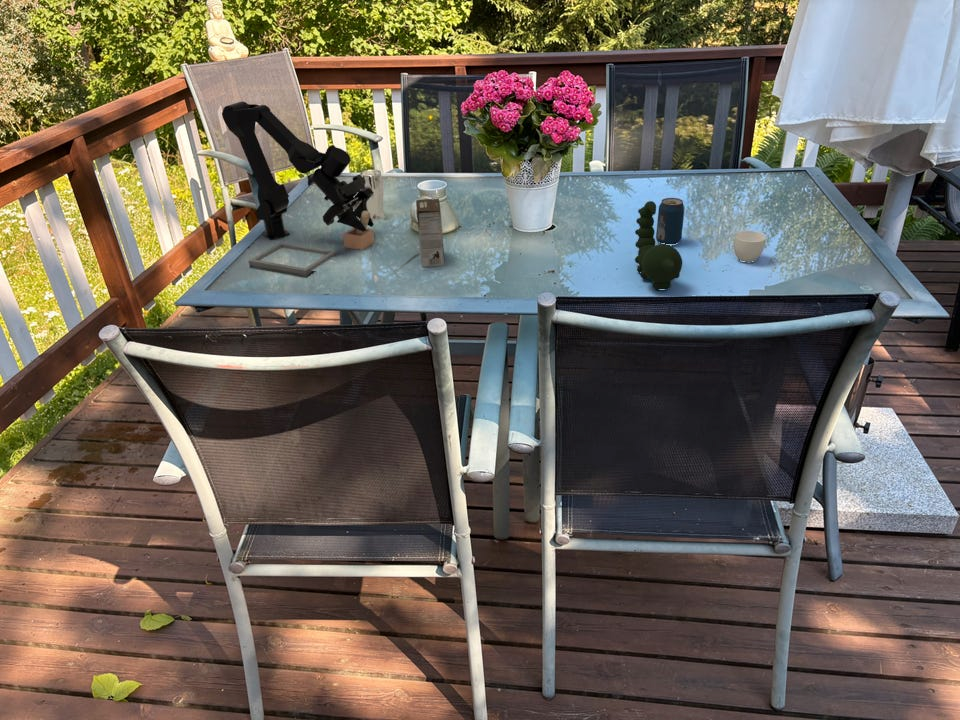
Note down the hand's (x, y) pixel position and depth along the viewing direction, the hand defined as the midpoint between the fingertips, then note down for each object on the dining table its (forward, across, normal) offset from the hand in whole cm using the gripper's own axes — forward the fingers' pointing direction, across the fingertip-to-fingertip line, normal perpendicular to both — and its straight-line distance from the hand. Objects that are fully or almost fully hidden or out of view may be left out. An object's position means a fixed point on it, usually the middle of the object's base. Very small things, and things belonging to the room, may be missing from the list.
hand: (368, 228), depth 200 cm
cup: (+75, +29, -66) cm, 104 cm away
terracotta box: (+2, 0, +8) cm, 8 cm away
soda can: (+60, +33, -50) cm, 85 cm away
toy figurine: (+61, +9, -52) cm, 81 cm away
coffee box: (+19, 0, -10) cm, 22 cm away
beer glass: (-4, +22, +14) cm, 27 cm away
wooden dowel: (+2, 0, +6) cm, 7 cm away
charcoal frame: (-7, -15, +16) cm, 23 cm away
